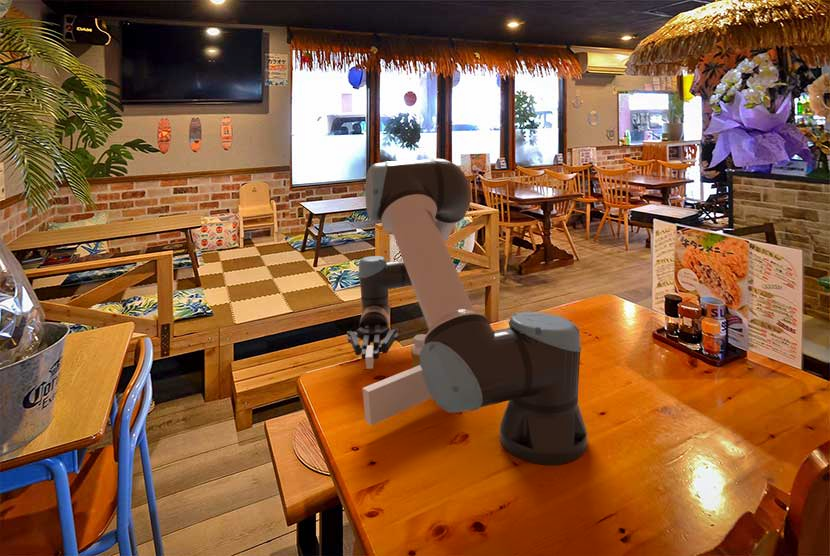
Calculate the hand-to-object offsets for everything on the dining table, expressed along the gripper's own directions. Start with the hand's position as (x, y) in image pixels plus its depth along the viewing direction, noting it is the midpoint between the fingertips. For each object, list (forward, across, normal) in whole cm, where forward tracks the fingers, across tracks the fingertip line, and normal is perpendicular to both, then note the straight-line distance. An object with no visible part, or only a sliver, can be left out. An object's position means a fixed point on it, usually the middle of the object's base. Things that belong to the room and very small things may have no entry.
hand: (369, 362), depth 108 cm
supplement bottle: (-7, -12, -7) cm, 16 cm away
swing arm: (+11, -8, -5) cm, 14 cm away
